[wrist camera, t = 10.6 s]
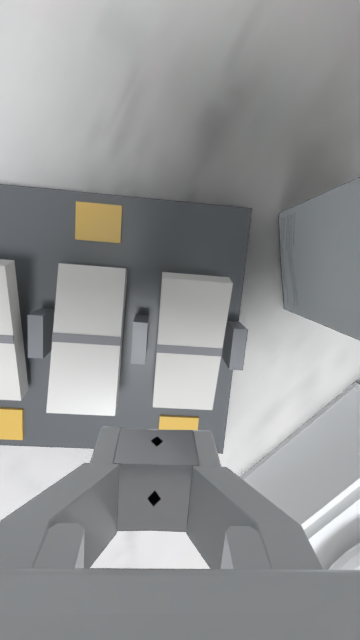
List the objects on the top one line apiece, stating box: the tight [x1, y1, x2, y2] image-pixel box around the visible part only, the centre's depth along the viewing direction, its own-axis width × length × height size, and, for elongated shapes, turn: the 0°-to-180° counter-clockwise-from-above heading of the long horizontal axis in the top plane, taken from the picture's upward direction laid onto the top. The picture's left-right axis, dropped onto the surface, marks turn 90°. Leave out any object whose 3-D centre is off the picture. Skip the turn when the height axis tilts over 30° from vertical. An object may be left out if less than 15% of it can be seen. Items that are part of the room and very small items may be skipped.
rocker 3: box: [153, 272, 233, 410], centre depth 24 cm, size 10×4×2 cm, turn 175°
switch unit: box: [0, 184, 252, 454], centre depth 25 cm, size 20×22×5 cm
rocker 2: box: [46, 263, 127, 416], centre depth 23 cm, size 10×4×2 cm, turn 175°
